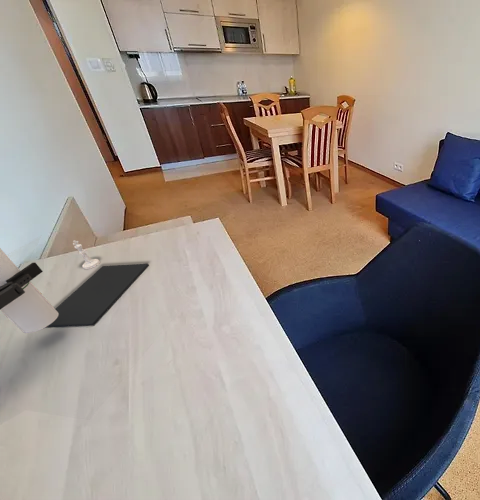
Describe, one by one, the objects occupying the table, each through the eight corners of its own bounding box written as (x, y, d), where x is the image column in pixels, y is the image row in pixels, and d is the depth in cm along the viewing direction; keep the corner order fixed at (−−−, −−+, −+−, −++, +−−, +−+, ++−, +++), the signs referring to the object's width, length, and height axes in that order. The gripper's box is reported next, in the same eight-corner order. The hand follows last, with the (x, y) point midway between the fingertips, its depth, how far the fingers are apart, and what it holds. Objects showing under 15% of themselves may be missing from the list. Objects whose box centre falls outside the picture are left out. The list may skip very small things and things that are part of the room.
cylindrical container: (57, 306, 79) (-17, 223, 64) (59, 320, 74) (-19, 234, 60) (21, 322, 75) (-66, 237, 61) (22, 338, 70) (-72, 250, 56)
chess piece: (79, 268, 103) (61, 244, 97) (91, 260, 107) (74, 236, 101) (91, 269, 102) (73, 245, 96) (103, 260, 106) (86, 236, 100)
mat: (37, 327, 81) (35, 325, 81) (104, 267, 102) (102, 265, 102) (94, 325, 80) (92, 323, 80) (149, 265, 101) (148, 263, 101)
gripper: (-129, 364, 55) (-5, 281, 74) (-29, 361, 54) (71, 278, 73) (-173, 337, 51) (-30, 257, 70) (-65, 334, 50) (51, 252, 68)
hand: (22, 267), depth 71 cm, fingers closed on cylindrical container, 7 cm apart
